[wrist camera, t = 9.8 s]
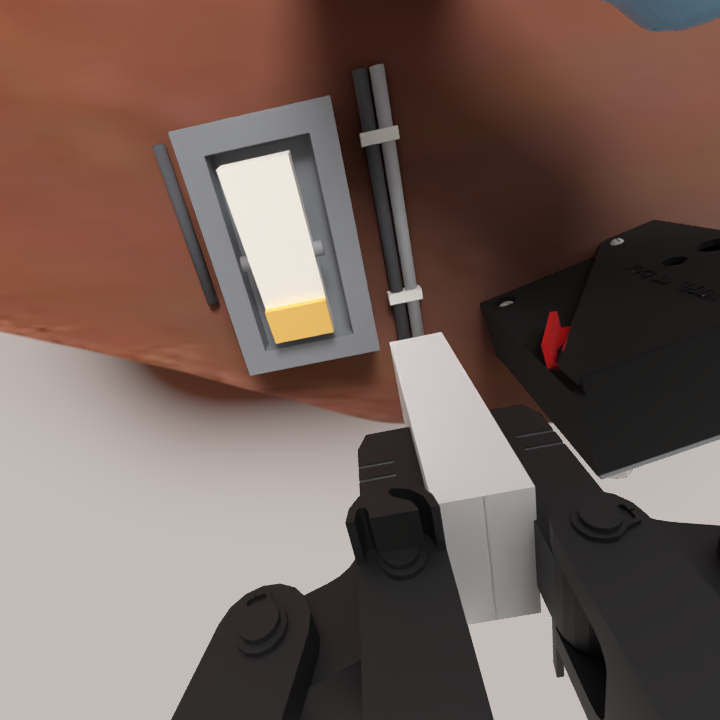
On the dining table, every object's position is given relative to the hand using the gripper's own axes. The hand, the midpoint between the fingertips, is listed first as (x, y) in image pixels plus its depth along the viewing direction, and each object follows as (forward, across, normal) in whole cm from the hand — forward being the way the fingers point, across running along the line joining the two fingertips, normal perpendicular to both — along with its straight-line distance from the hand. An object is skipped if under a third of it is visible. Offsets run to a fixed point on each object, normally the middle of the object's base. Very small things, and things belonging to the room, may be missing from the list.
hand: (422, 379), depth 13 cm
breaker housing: (+30, -7, +1) cm, 31 cm away
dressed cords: (+30, +2, +1) cm, 31 cm away
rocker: (+23, -7, +1) cm, 24 cm away
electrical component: (+31, +19, -10) cm, 37 cm away
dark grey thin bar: (+30, -16, +4) cm, 35 cm away
